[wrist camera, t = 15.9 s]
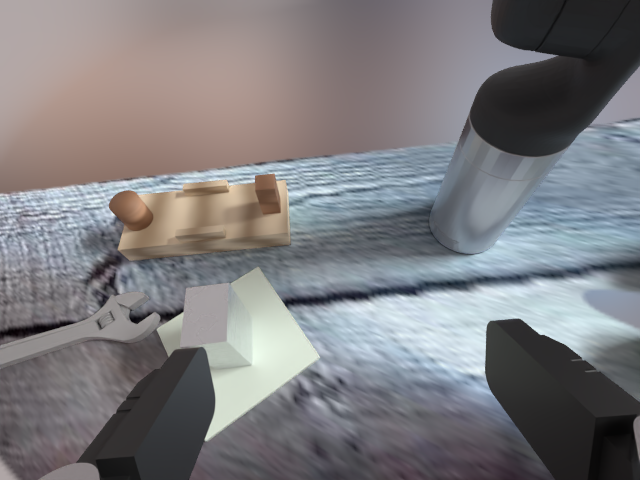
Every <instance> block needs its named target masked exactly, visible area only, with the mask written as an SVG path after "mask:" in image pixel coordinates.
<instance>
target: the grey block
mask: <svg viewBox="0 0 640 480" xmlns="http://www.w3.org/2000/svg"><path fill="white" fill-rule="evenodd" d="M195 347H203V348H204V349H205V350H206V353H207V357H208V362H209V365H210V366H211V367H213V368H215V369H216V370H219V369H227V368H235V367H243V366H250V365H253V336H252V316H251V315H250V313H249V312H248V310H247V309H246V307H245V306H244V304H243V303H242V301H241V300H240V298H239V297H238V296H237V294H236V293H235V291H234V290H233V288H232V287H231V285H230V284H229V283H222V284H214V285H206V286H198V287H190V288H186V294H185V304H184V313H183V322H182V332H181V341H180V348H182V349H184V348H195Z"/></svg>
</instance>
